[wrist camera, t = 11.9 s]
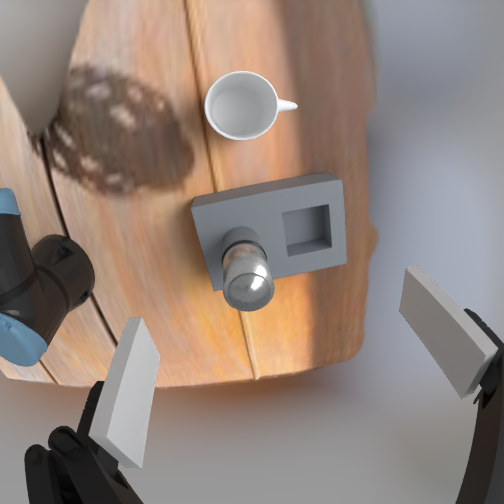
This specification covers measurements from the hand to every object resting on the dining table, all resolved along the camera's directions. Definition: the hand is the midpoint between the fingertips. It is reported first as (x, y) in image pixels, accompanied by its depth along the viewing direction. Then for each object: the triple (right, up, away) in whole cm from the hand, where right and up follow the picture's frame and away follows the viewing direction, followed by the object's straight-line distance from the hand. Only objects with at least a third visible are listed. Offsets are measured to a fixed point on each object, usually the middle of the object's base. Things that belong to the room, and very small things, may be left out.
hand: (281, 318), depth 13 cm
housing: (+1, +8, +35) cm, 36 cm away
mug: (-2, +25, +27) cm, 36 cm away
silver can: (-3, +4, +29) cm, 30 cm away
